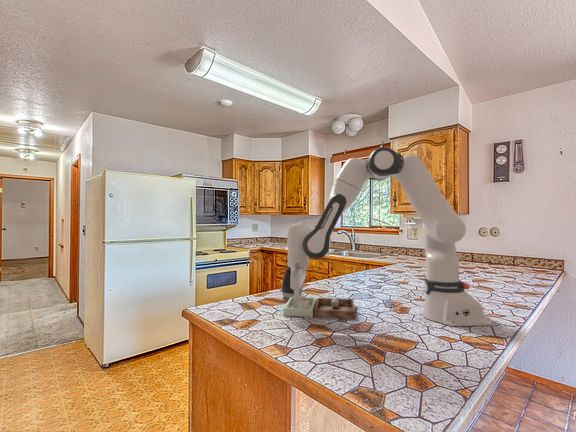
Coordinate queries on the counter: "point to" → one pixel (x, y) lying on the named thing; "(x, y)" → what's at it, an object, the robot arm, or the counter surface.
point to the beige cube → (295, 301)
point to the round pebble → (334, 303)
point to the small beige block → (303, 304)
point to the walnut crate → (327, 311)
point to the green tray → (299, 311)
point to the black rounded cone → (288, 285)
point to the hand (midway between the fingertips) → (298, 294)
